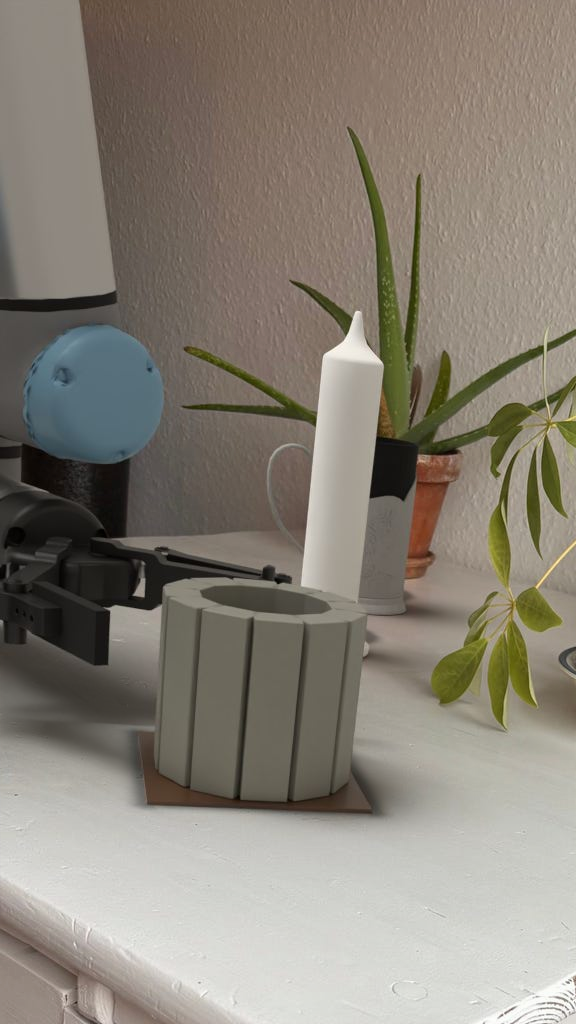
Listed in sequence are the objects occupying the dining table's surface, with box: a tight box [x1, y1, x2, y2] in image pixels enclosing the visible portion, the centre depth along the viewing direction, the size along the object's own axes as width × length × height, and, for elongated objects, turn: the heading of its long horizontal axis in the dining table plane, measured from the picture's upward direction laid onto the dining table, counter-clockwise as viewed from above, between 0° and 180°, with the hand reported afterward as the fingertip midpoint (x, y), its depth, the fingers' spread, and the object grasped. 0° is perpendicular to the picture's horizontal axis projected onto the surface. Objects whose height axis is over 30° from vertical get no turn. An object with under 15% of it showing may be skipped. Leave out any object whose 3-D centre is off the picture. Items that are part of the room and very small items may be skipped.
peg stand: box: [137, 730, 373, 814], centre depth 67 cm, size 11×11×7 cm
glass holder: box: [266, 435, 420, 616], centre depth 117 cm, size 9×14×15 cm, turn 113°
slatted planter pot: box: [154, 577, 369, 802], centre depth 66 cm, size 10×10×9 cm
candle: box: [300, 310, 385, 658], centre depth 98 cm, size 7×7×25 cm
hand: (221, 633), depth 67 cm, fingers open, 13 cm apart
